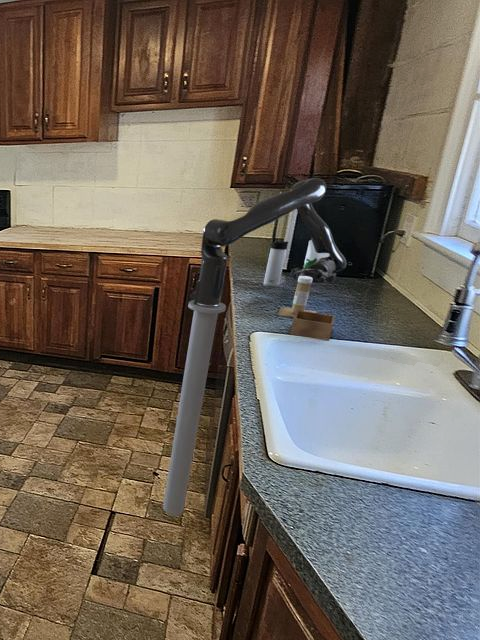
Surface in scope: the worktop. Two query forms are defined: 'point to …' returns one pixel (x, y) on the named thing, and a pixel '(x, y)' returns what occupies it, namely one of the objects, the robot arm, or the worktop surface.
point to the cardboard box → (312, 325)
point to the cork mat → (289, 312)
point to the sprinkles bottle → (301, 293)
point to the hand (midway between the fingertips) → (307, 278)
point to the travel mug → (275, 264)
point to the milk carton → (312, 255)
